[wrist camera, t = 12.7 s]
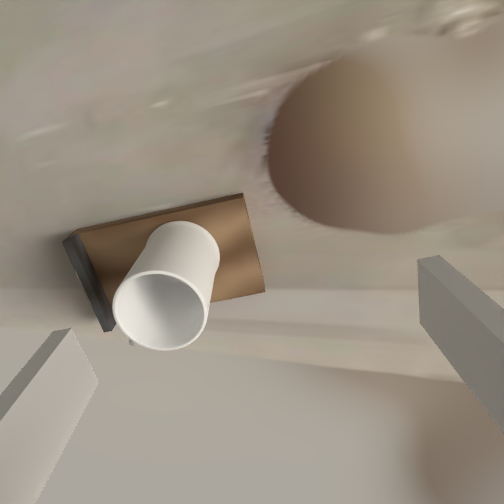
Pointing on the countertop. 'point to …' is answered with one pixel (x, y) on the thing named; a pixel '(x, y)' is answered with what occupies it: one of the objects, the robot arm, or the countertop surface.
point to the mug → (168, 288)
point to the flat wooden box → (134, 241)
